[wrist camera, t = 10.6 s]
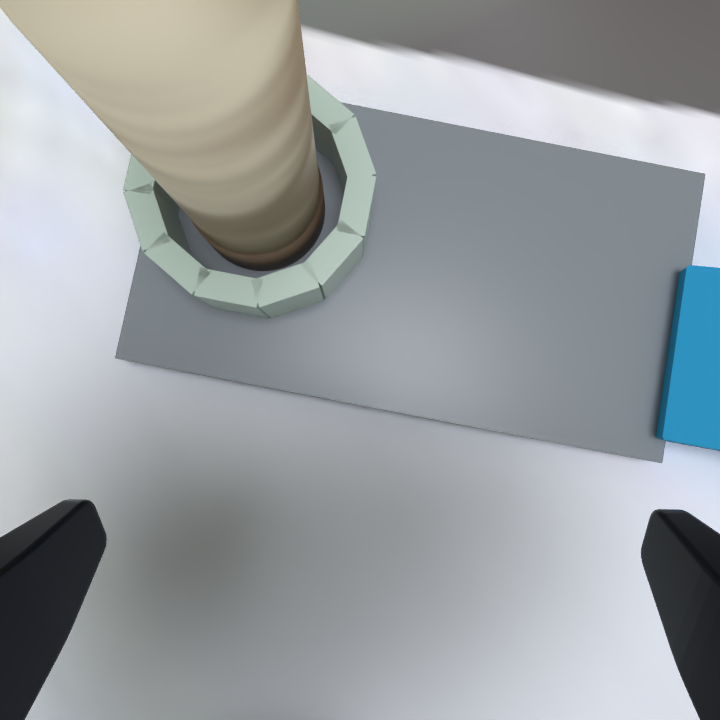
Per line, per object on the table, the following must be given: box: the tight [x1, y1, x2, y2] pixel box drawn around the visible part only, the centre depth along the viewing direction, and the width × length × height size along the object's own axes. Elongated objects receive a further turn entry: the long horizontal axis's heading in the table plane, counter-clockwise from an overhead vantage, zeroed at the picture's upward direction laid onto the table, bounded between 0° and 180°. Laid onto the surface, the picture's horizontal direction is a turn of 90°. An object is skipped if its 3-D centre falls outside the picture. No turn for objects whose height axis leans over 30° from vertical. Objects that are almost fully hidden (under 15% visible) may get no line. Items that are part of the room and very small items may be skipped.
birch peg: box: [0, 0, 325, 271], centre depth 14 cm, size 5×5×12 cm
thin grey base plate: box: [115, 75, 705, 463], centre depth 19 cm, size 22×12×4 cm, turn 79°
